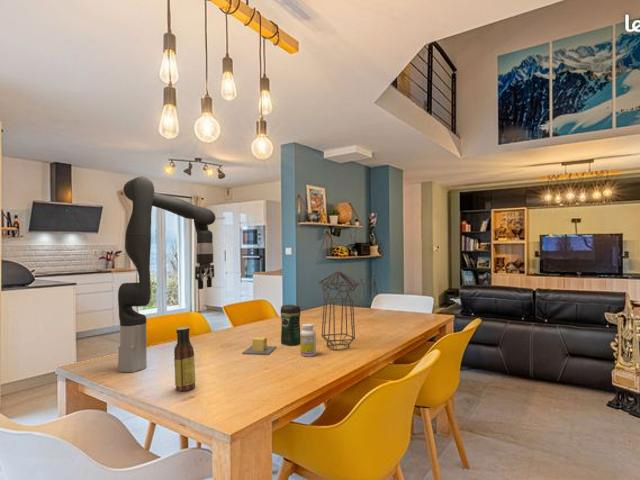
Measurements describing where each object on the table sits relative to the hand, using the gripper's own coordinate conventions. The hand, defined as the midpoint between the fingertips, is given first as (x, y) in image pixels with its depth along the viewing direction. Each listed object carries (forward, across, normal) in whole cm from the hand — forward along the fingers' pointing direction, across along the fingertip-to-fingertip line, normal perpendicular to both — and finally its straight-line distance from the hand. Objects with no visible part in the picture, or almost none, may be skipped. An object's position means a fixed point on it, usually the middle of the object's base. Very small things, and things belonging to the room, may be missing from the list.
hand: (205, 288), depth 172 cm
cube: (+28, 0, -26) cm, 38 cm away
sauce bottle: (+28, -47, -16) cm, 57 cm away
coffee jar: (+28, +14, -37) cm, 49 cm away
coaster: (+28, 0, -26) cm, 38 cm away
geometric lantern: (+28, +10, -61) cm, 68 cm away
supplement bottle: (+28, -4, -49) cm, 57 cm away
